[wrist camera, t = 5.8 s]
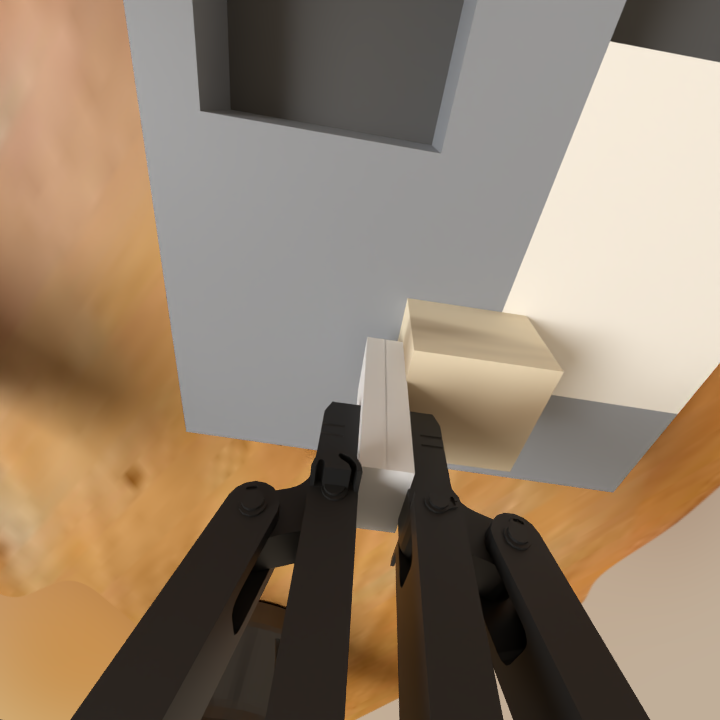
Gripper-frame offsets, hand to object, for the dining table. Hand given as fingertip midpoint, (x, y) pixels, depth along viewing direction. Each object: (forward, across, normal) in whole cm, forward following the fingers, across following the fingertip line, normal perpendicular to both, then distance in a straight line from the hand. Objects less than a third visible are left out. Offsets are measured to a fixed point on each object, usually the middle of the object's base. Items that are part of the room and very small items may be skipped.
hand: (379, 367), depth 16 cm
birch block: (+2, -3, 0) cm, 4 cm away
